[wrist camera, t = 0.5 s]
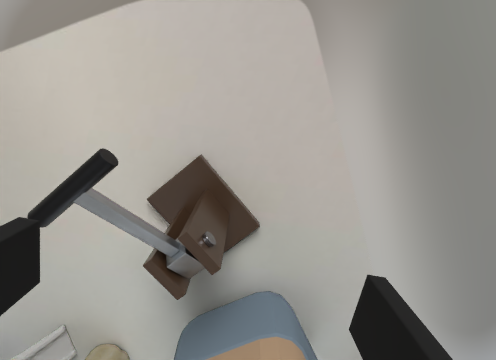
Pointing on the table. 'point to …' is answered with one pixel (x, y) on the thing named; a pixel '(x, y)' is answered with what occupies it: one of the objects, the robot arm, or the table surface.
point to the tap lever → (111, 212)
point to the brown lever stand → (198, 221)
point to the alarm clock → (246, 332)
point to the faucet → (50, 348)
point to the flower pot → (107, 353)
